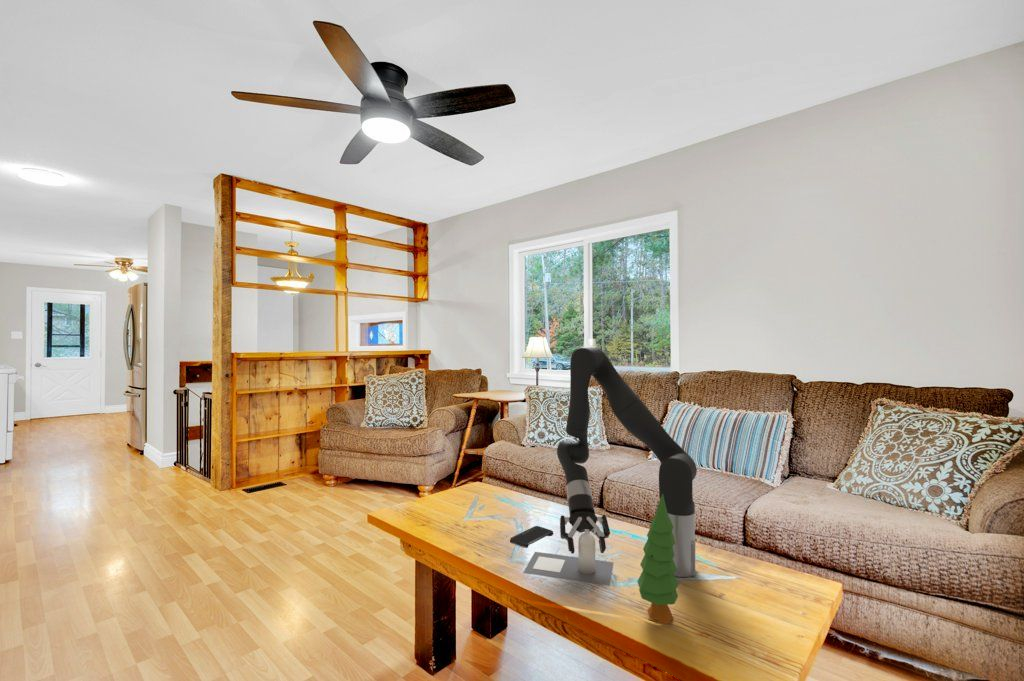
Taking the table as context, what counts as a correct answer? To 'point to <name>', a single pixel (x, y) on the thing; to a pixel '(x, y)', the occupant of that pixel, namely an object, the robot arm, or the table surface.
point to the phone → (531, 536)
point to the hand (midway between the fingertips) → (587, 552)
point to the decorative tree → (659, 567)
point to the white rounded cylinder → (586, 553)
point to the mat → (568, 568)
